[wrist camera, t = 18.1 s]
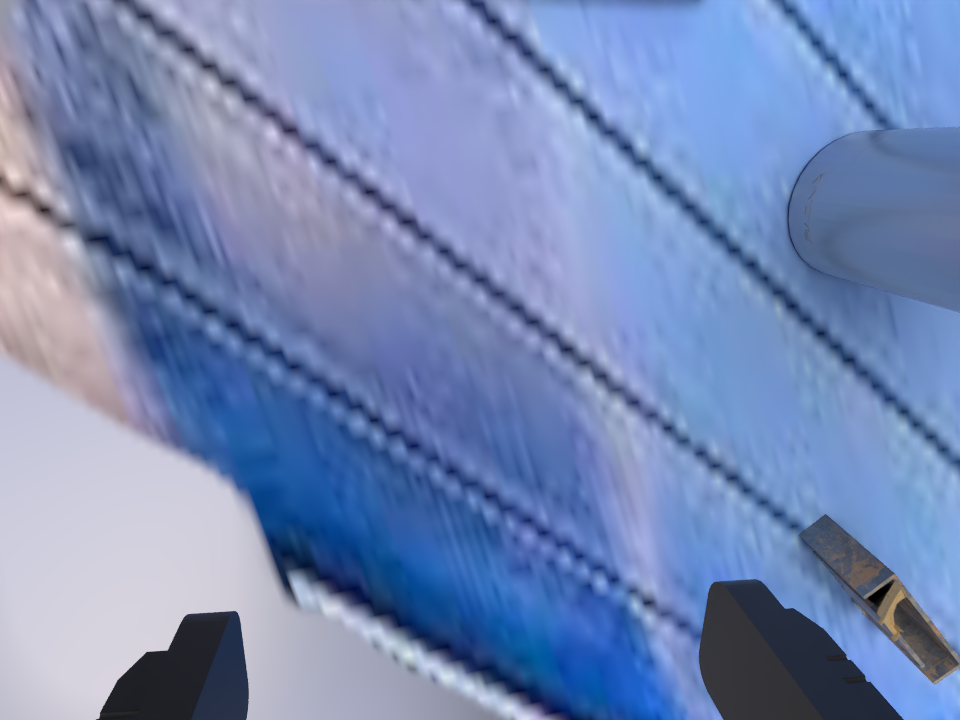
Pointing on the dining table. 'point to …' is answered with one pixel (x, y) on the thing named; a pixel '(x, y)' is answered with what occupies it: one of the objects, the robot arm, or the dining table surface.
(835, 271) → the robot arm
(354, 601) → the dining table surface
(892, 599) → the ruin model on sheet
